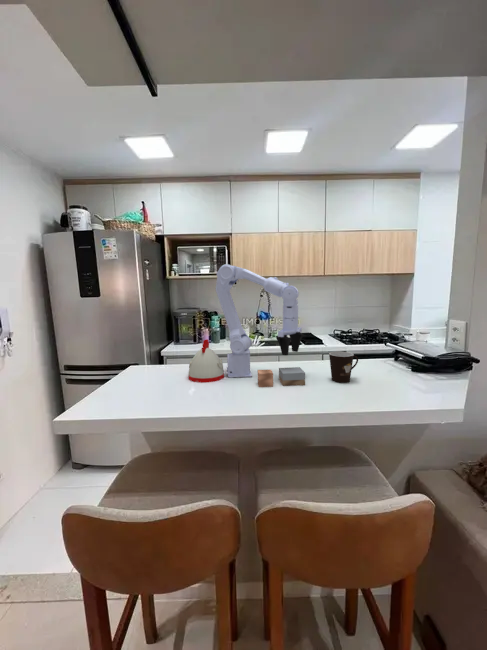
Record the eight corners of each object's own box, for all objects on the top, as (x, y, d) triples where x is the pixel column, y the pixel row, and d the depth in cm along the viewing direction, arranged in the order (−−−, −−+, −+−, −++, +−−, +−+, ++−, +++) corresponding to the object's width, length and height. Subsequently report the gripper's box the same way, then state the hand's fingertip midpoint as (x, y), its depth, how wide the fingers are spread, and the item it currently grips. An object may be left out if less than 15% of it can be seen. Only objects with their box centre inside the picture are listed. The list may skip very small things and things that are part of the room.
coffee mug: (331, 384, 110) (332, 356, 109) (326, 377, 118) (326, 351, 117) (364, 383, 109) (365, 356, 108) (356, 376, 118) (357, 351, 117)
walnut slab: (282, 387, 109) (282, 380, 108) (278, 380, 117) (278, 374, 116) (305, 386, 109) (305, 379, 109) (299, 379, 117) (299, 373, 117)
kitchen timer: (227, 373, 127) (226, 337, 125) (219, 383, 113) (218, 343, 112) (194, 372, 129) (193, 337, 127) (183, 382, 115) (182, 343, 114)
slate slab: (283, 380, 108) (282, 373, 108) (278, 374, 116) (278, 367, 116) (305, 379, 109) (305, 372, 108) (299, 373, 117) (299, 367, 116)
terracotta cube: (259, 387, 108) (258, 373, 107) (257, 383, 113) (257, 369, 112) (273, 386, 108) (273, 373, 107) (271, 382, 113) (271, 369, 112)
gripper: (289, 320, 108) (289, 358, 109) (308, 316, 119) (308, 351, 120) (273, 319, 112) (273, 355, 114) (292, 316, 123) (292, 349, 125)
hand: (290, 353), depth 117 cm, fingers open, 7 cm apart
